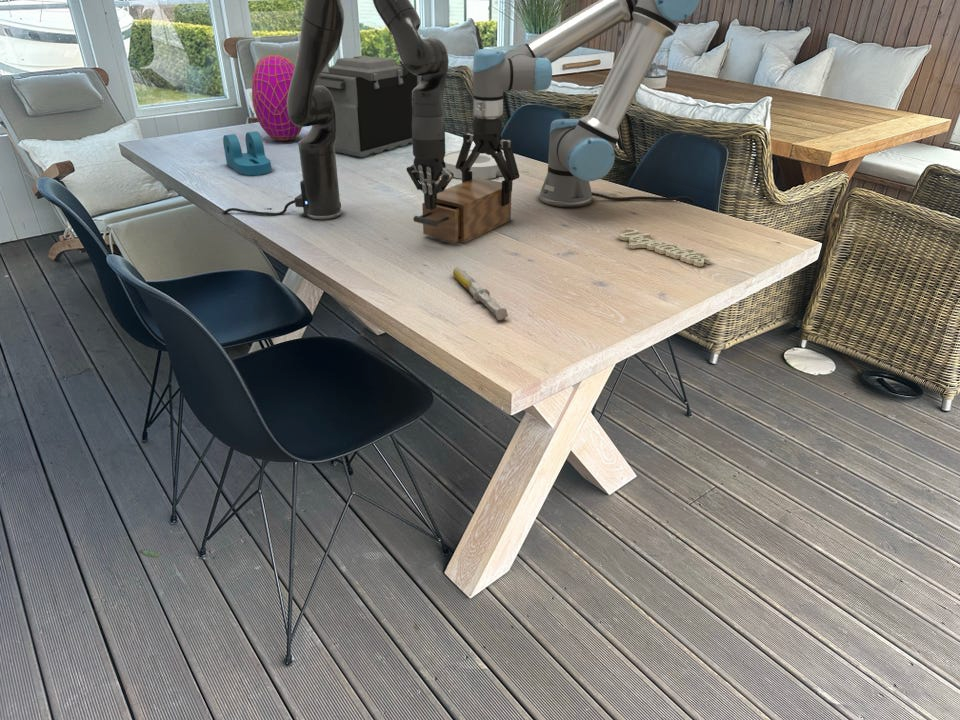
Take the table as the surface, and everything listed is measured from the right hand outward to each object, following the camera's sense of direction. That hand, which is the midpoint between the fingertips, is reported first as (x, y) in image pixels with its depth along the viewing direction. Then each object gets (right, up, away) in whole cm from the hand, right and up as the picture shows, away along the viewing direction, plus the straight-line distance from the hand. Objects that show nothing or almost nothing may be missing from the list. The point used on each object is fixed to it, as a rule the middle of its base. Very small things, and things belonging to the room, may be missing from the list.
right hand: (486, 200), depth 185 cm
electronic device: (-43, +37, +73) cm, 93 cm away
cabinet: (-4, -8, -2) cm, 9 cm away
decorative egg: (-77, +42, +80) cm, 119 cm away
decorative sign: (+43, -16, -15) cm, 48 cm away
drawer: (-8, -9, -7) cm, 14 cm away
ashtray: (-3, +21, +46) cm, 50 cm away
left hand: (-14, -6, -19) cm, 24 cm away
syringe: (-2, -30, -40) cm, 50 cm away
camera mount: (-78, +21, +44) cm, 92 cm away
